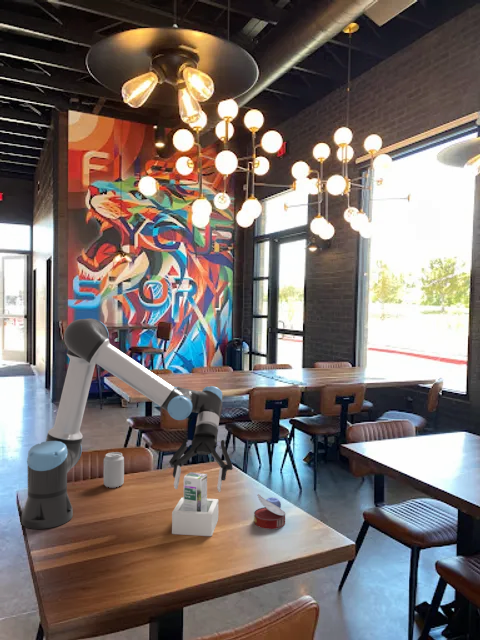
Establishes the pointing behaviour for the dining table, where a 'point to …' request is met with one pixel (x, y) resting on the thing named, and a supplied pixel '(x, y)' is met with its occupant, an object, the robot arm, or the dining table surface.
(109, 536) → the dining table surface
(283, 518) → the canned food
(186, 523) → the socket
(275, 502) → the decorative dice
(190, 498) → the syrup box
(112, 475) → the can
